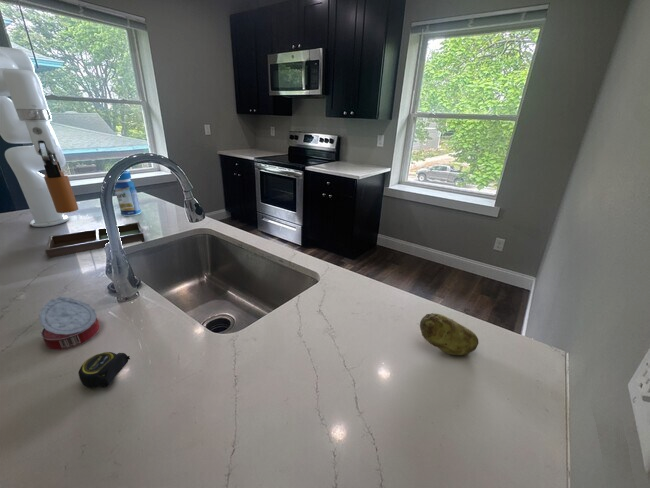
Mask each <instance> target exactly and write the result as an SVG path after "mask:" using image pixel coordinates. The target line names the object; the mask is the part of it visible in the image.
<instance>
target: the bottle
mask: <svg viewBox="0 0 650 488" xmlns="http://www.w3.org/2000/svg"><path fill="white" fill-rule="evenodd" d="M54 160H55V163H56V164H57V159H56V158H54ZM57 166H58V164H57ZM58 168H59V166H58ZM59 171H60V174H61V177H56V178H48V176H47V173H46V171H45V175H44V179H45V182H46V185H47V187H48V190H49V193H50V195H51V198H52V201H53V204H54V206H55V209H56V212H57V213H62V214H69V213H73V212H76V211H78V210H79V206H78V203H77V200H76V196H75V193H74V191H73V188H72V185H71V182H70V178H69V176H68V174H65V172H64V171H63V170H62V169H61V170H60V169H59Z"/></svg>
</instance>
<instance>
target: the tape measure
mask: <svg viewBox="0 0 650 488" xmlns="http://www.w3.org/2000/svg"><path fill="white" fill-rule="evenodd" d="M129 360H131V356H130V355H127V354H126V353H125V352H118V353H115V352H111V351H104V352H101V353H97V354H95V355H93V356H91V357H90V358H88V359H86V360H85V361H84V362H83V363H82V364H81V366H80V368H79V370H78V373H77V374H78V378H79V381H80V382H81V384H82V386H84V387H86V388H87V389H96V388H107V387H110V385H111V384H112V383H113V382H114V380H115V379H116V377H118V375H119V373H120V372H121V371H122V370H123V369H124V367H126V365H127V364H128V362H129Z"/></svg>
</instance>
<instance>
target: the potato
mask: <svg viewBox="0 0 650 488" xmlns="http://www.w3.org/2000/svg"><path fill="white" fill-rule="evenodd" d="M419 330H420V333H421V336H422V337H423V339H424V340H425V341H426V342H428V343H429V344H430V345H431V346H433V347H435V348H437V349H439V350H440V351H442V352H443V353H445V354H448V355H451V356H463V355H468V354H470V353H472V352H474V351H475V350H476V349H477V348H478V346H479V337H478V336H477V335H476V333H474V332H473V331H472V330H471V329H469V328H468V327H466V326H464V325H463V324H461V323H459V322H457V321H455V320H454V319H452V318H450V317H447V316H446V315H444V314H439V313H433V312H432V313H427V314H425V315H424V316H422V318H421V320H420V323H419Z"/></svg>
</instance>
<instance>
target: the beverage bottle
mask: <svg viewBox="0 0 650 488" xmlns="http://www.w3.org/2000/svg"><path fill="white" fill-rule="evenodd" d="M124 171H125V172H124V173H123V174H122V175H121V176H120V178H119V179H118V181H117V183H116V185H115V189H114V190H115V192H114V194H115V196H116V199H117V202H118V207H119V210H120V214H121V216H123V217H135V216H138V215H140V214H142V209H141V205H140V201H139V196H138V190H137V189H136V185H135V183H134V182H133V181H132V180H131V179H132V175H131V172H130V170H124Z"/></svg>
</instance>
